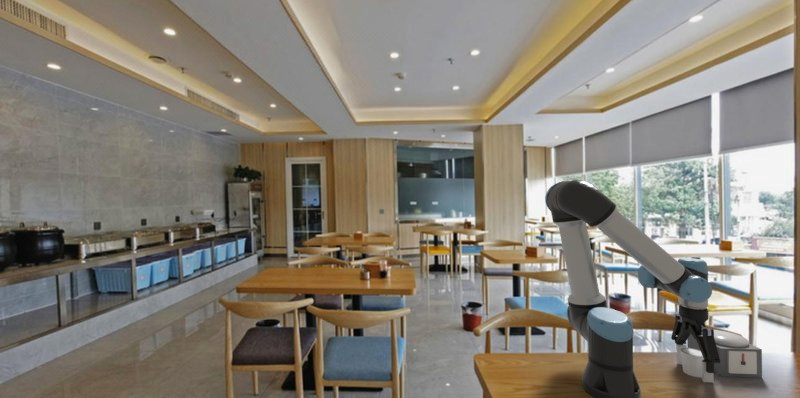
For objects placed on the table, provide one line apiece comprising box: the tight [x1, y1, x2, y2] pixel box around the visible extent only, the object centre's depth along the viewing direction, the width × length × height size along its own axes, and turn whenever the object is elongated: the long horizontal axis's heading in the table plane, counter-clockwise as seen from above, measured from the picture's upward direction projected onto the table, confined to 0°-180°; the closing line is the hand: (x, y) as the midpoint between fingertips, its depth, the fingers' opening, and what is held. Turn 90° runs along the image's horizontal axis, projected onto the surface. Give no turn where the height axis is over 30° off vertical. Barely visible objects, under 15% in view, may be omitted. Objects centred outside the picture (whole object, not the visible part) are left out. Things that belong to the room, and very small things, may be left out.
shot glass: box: [681, 347, 704, 378], centre depth 114 cm, size 7×7×7 cm
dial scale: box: [687, 329, 763, 379], centre depth 118 cm, size 13×16×10 cm
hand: (694, 372), depth 114 cm, fingers open, 11 cm apart
